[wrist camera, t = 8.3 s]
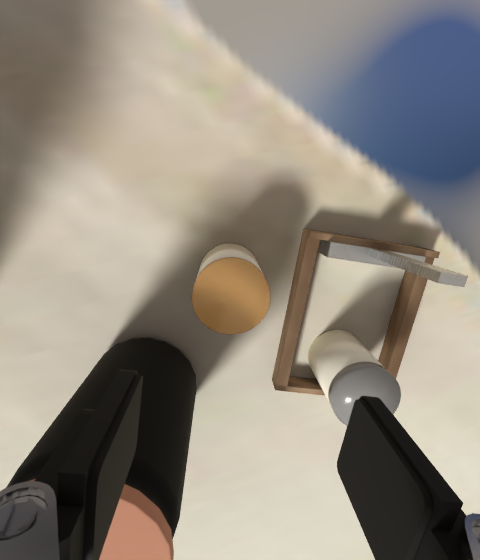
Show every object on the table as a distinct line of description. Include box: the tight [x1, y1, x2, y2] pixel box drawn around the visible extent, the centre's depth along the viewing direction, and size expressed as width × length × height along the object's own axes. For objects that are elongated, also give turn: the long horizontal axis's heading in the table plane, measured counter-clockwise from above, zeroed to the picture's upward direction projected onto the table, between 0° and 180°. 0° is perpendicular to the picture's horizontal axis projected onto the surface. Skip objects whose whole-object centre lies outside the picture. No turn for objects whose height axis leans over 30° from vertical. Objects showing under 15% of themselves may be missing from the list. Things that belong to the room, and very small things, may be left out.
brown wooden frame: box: [272, 229, 440, 395], centre depth 32 cm, size 13×17×2 cm
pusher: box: [318, 240, 468, 287], centre depth 25 cm, size 9×1×12 cm, turn 81°
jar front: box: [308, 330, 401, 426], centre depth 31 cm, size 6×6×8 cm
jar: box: [192, 243, 270, 334], centre depth 28 cm, size 6×6×8 cm
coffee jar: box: [6, 338, 196, 560], centre depth 25 cm, size 11×11×18 cm
